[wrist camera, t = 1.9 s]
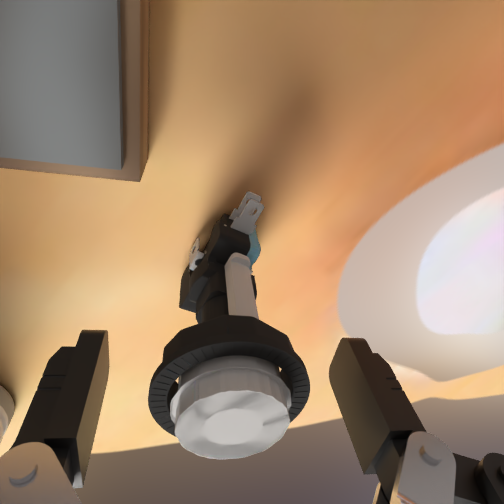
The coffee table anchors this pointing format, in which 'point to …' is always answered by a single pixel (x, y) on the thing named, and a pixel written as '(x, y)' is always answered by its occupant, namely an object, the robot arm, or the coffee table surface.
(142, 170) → the tray
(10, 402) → the travel mug
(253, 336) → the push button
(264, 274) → the coffee table surface
